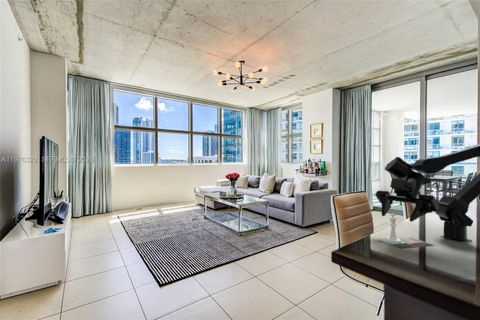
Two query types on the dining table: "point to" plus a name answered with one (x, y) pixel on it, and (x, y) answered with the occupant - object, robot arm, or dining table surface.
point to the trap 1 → (404, 245)
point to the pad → (391, 243)
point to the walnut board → (409, 242)
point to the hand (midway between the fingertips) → (395, 218)
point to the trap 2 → (421, 244)
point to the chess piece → (393, 232)
